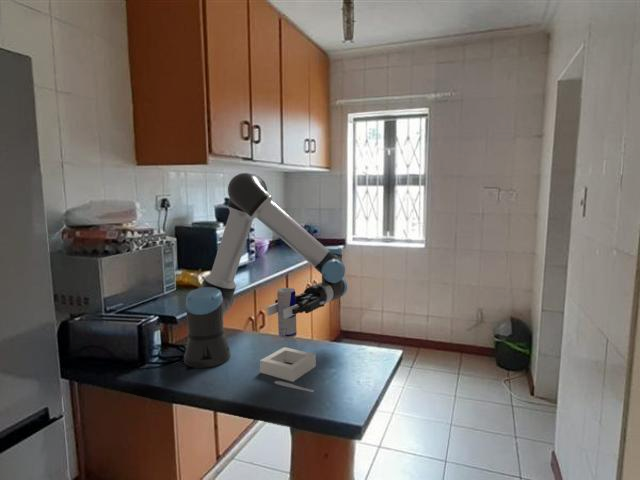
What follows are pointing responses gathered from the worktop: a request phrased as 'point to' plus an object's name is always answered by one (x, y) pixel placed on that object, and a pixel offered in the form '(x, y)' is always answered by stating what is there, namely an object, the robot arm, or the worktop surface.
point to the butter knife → (292, 386)
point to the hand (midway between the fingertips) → (276, 312)
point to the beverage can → (284, 325)
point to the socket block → (279, 369)
